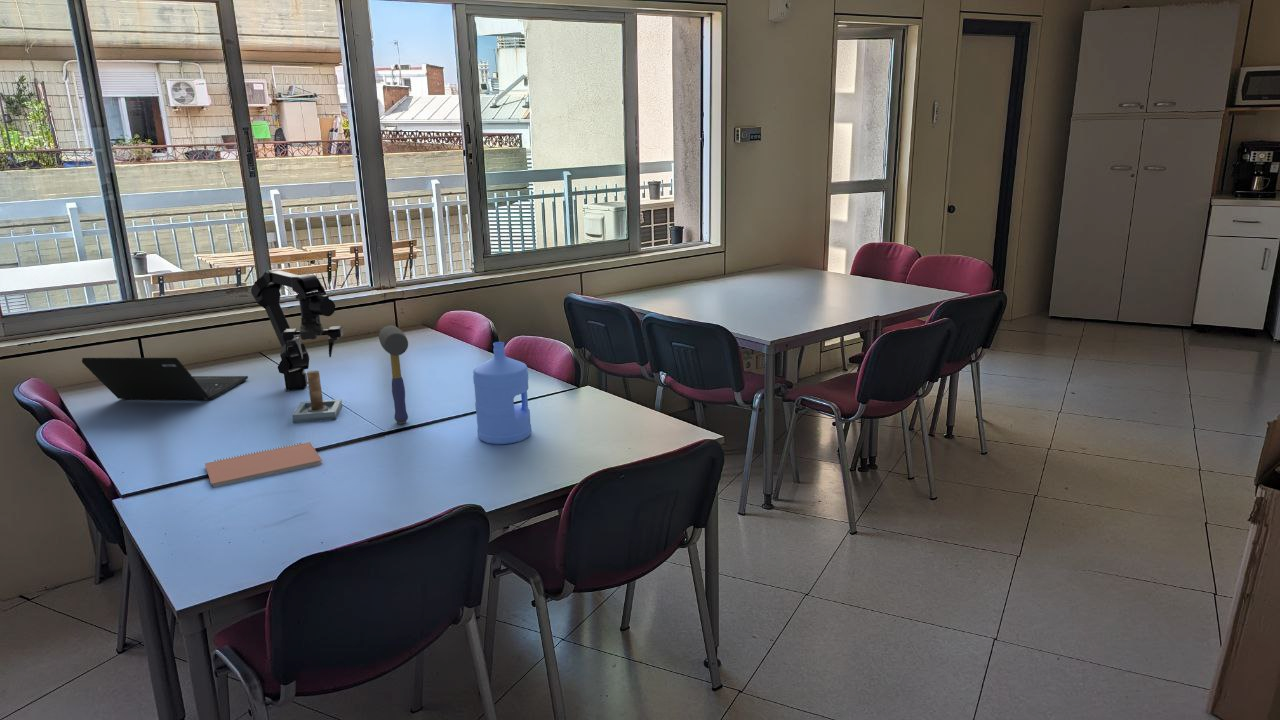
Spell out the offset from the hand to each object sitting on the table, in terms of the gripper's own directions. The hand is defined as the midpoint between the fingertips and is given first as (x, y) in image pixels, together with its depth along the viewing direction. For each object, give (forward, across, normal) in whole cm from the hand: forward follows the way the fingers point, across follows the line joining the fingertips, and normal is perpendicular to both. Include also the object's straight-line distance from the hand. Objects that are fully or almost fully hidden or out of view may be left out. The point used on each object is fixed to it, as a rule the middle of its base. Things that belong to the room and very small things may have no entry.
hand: (316, 357), depth 283 cm
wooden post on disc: (+12, +3, -21) cm, 24 cm away
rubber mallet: (+13, +30, -35) cm, 48 cm away
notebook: (+14, -4, -61) cm, 63 cm away
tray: (+13, +3, -21) cm, 25 cm away
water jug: (+13, +61, -53) cm, 82 cm away
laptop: (+14, -50, +10) cm, 53 cm away
